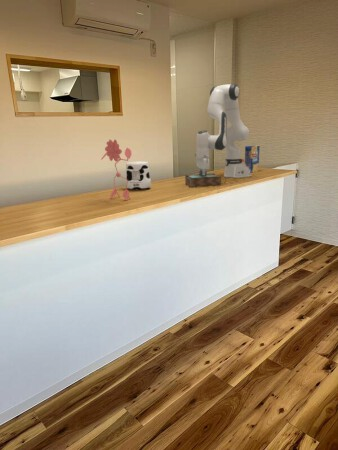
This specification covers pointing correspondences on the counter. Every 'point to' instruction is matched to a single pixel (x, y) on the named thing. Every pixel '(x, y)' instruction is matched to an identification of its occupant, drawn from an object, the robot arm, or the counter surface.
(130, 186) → the milk container
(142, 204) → the counter surface
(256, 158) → the beverage box
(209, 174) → the cover plate
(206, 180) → the walnut box
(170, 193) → the counter surface
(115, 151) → the figurine
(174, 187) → the counter surface
